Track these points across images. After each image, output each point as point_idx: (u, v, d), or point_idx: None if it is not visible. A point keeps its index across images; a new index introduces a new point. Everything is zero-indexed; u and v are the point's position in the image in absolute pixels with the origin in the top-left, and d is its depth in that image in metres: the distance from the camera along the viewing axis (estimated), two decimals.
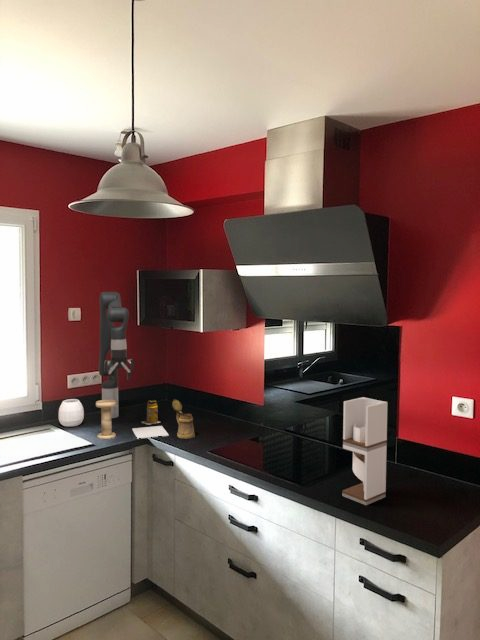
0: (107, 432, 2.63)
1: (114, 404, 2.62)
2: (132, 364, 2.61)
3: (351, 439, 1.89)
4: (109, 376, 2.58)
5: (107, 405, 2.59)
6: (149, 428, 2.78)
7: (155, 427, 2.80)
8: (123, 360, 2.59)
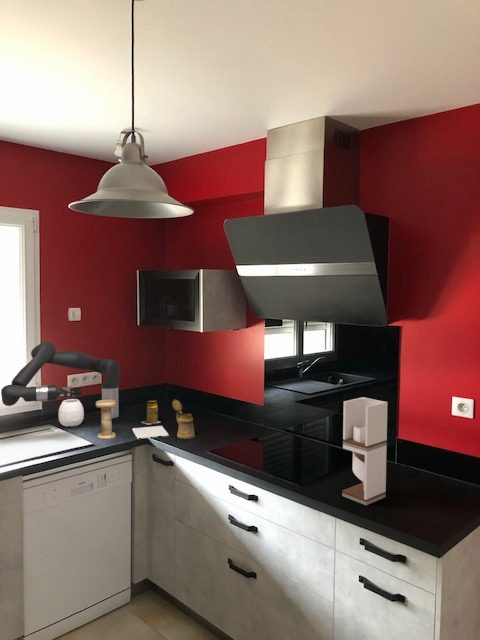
0: (107, 432, 2.63)
1: (114, 404, 2.62)
2: None
3: (351, 439, 1.89)
4: None
5: (107, 405, 2.59)
6: (149, 428, 2.78)
7: (155, 427, 2.80)
8: None
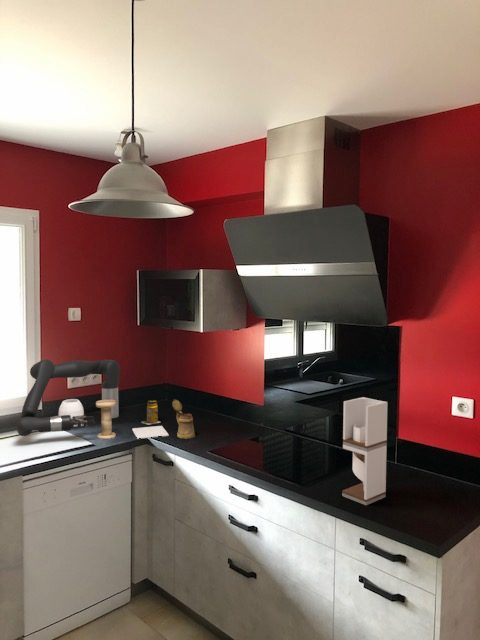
0: (107, 432, 2.63)
1: (114, 404, 2.62)
2: None
3: (351, 439, 1.90)
4: None
5: (107, 405, 2.59)
6: (149, 428, 2.78)
7: (155, 427, 2.80)
8: None
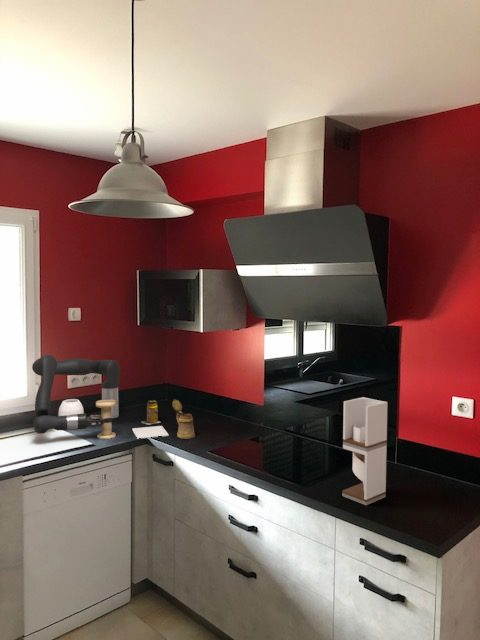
0: (107, 432, 2.63)
1: (114, 404, 2.62)
2: None
3: (351, 439, 1.89)
4: None
5: (107, 405, 2.59)
6: (149, 428, 2.78)
7: (155, 427, 2.80)
8: None
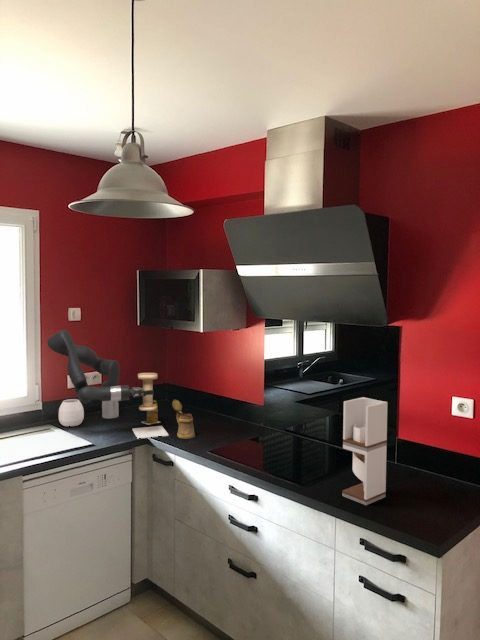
0: (149, 404, 2.69)
1: (156, 376, 2.68)
2: None
3: (351, 439, 1.89)
4: None
5: (149, 377, 2.65)
6: (149, 428, 2.78)
7: (155, 427, 2.80)
8: None
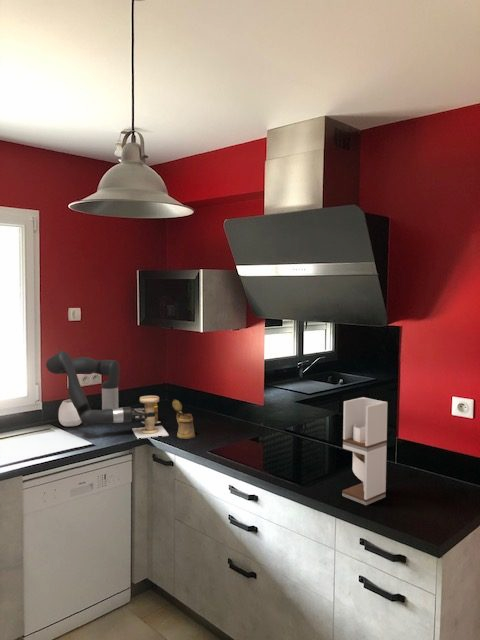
0: (151, 427, 2.70)
1: (157, 400, 2.69)
2: None
3: (351, 439, 1.89)
4: None
5: (151, 401, 2.66)
6: None
7: None
8: None
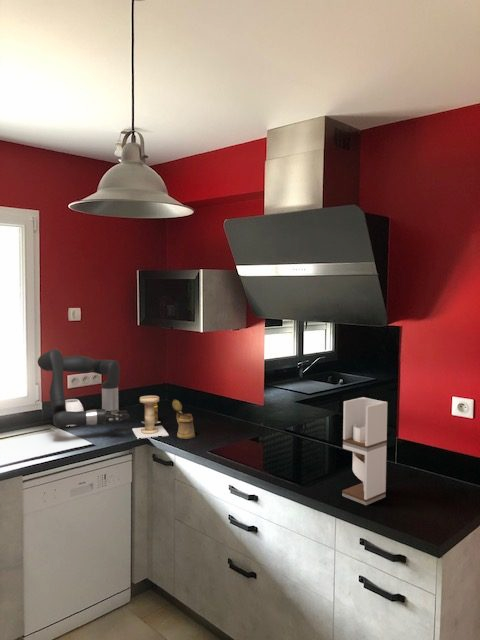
0: (151, 427, 2.70)
1: (157, 400, 2.69)
2: None
3: (351, 439, 1.89)
4: None
5: (151, 401, 2.66)
6: None
7: None
8: None
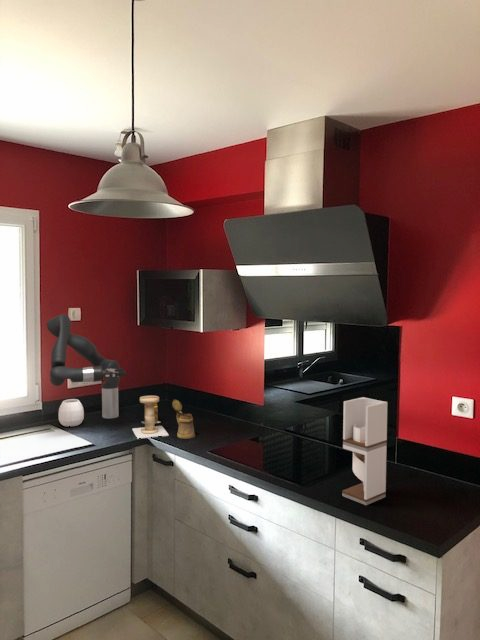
0: (151, 427, 2.70)
1: (157, 400, 2.69)
2: None
3: (351, 439, 1.89)
4: None
5: (151, 401, 2.66)
6: None
7: None
8: None
